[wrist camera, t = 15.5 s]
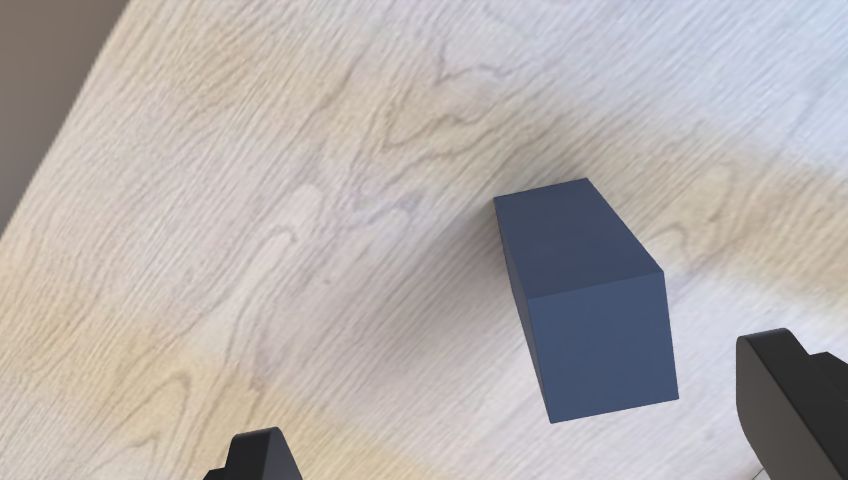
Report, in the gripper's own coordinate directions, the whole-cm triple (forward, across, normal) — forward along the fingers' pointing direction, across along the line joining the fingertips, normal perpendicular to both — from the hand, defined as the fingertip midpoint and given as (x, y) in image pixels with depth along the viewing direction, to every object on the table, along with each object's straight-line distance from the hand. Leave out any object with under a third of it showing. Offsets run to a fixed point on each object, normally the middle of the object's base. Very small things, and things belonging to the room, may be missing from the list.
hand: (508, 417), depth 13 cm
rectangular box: (+21, -4, +9) cm, 24 cm away
